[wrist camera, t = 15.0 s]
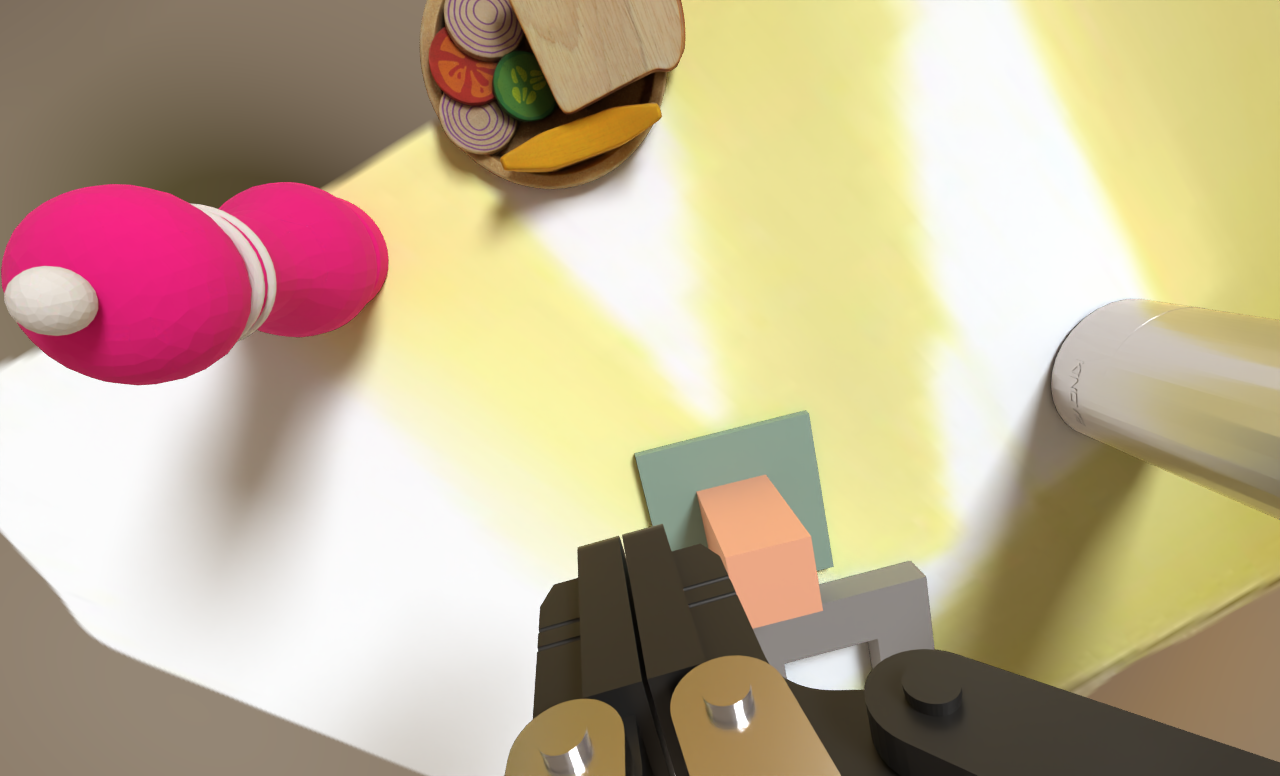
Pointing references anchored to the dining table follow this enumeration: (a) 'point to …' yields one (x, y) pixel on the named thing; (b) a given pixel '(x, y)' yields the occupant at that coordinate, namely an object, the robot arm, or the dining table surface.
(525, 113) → the toy sandwich meal
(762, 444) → the rubber pad
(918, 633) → the pocket plate
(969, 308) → the dining table surface
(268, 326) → the pepper mill
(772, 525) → the terracotta block
